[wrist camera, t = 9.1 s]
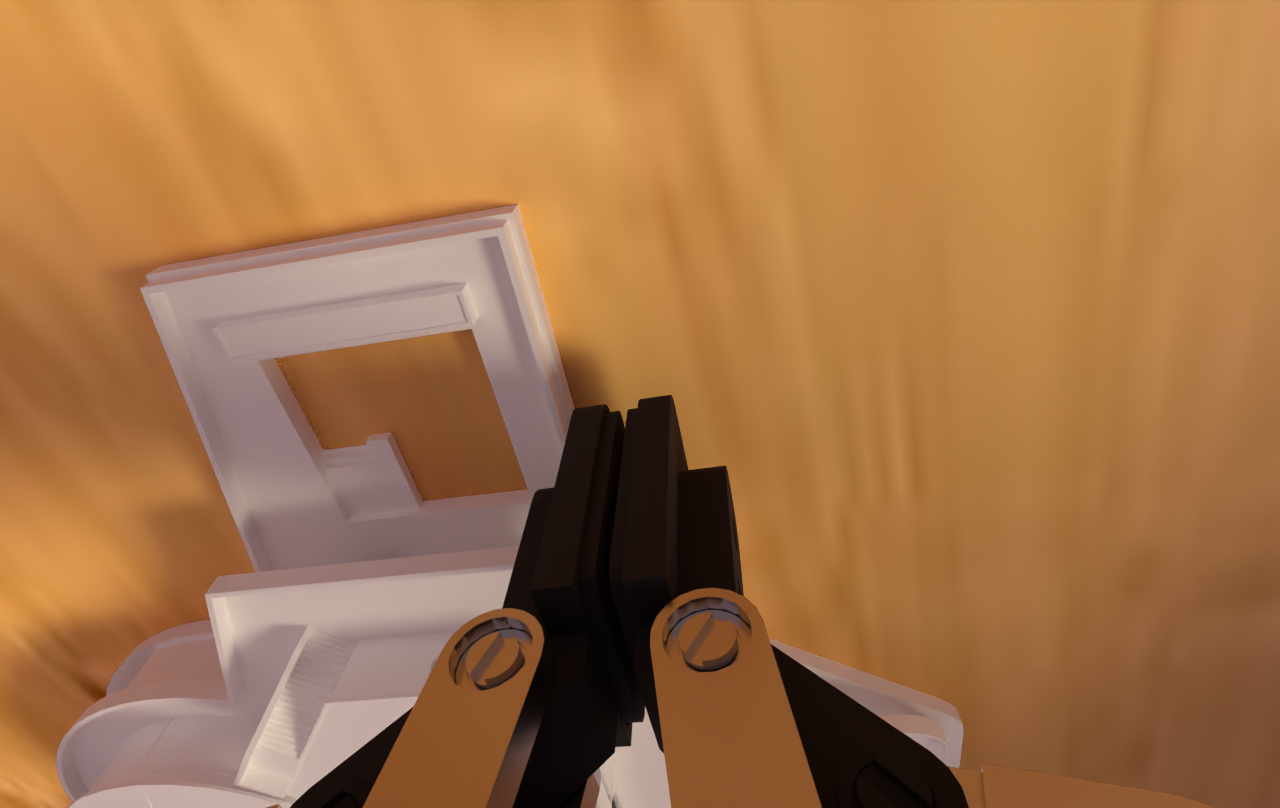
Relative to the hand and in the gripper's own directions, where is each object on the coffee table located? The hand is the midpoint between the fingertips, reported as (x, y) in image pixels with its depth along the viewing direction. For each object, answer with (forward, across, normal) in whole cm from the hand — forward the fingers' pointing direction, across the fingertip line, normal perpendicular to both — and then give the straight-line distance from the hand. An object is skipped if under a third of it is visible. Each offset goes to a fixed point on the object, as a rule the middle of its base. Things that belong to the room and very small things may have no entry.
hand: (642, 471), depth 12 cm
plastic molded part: (+2, +6, +7) cm, 10 cm away
